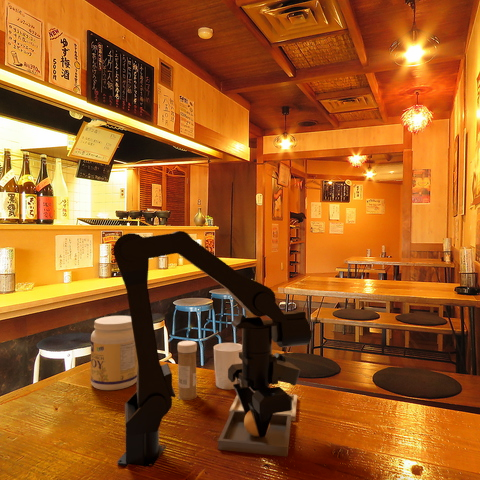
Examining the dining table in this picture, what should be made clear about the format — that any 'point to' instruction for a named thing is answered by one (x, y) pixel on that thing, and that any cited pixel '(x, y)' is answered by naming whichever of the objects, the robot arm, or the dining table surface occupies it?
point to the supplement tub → (113, 353)
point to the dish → (242, 441)
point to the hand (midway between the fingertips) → (257, 429)
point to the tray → (238, 406)
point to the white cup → (225, 363)
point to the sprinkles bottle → (187, 370)
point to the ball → (251, 424)
